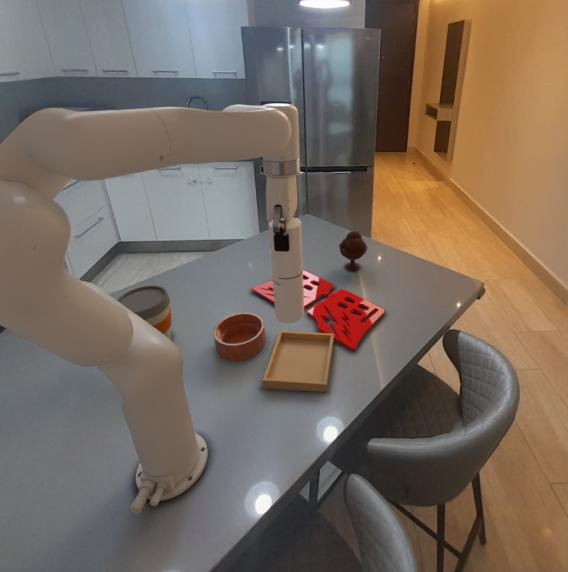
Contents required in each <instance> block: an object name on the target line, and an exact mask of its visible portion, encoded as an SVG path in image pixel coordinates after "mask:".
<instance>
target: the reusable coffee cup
mask: <svg viewBox="0 0 568 572" xmlns="http://www.w3.org/2000/svg"><path fill="white" fill-rule="evenodd" d="M170 299H171V298H170V297H169V293H168V291H167V289H166V288H164V287H163V286H159V285H154V284H152V285H142V286H138V287H135V288H133V289H130V290H128V291H127V292H125V293H123V294H121V295H120V297H119V298H117V299H116V300H117V301H118V302H119V303H121V304H122V305H124V306H125V307H126V308H128V309H129V310H131V311H132V312H133V313H135V314H136V315H138V316H139V317H141V318H142V319H143V320H145V321H146V322H147V323H149V324H150V325H151V326H153V327H154V328H156V329H157V330H158V331H160V332H161V333H162V334H164V335H165V336H166V337H168V338H169V339H170V340H171V339H172V336H171V326H172V311H171V310H172V309H171V306H170V303H171V300H170Z"/></svg>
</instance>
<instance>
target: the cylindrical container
mask: <svg viewBox="0 0 568 572" xmlns="http://www.w3.org/2000/svg"><path fill="white" fill-rule="evenodd" d="M281 221H285V218H281ZM272 224H273V221H272V222H268V235H269V248H270V262H271V274H272V280H273V289H274V303H275V304H274V314H275V319H276V320H277V321H278V322H280V323H283V324H294V323H297V322H299V321H300V320H302V319H303V317H305V309H304V292H303V280H304V277H303V270H304V265H303V264H304V263H303V262H304V261H303V240H302V239H303V238H302V237H303V236H302V221H301V220H300V219H299V218H297V217H295V218H294V217H292V219H291V221H290V222H288V228H287V234H289V248H290V249H289V251H288V252H284V251H275V250H274V236H273V227H272ZM280 225H281V227H283V229H284V224H280Z"/></svg>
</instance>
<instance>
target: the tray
mask: <svg viewBox="0 0 568 572" xmlns="http://www.w3.org/2000/svg"><path fill="white" fill-rule="evenodd" d="M334 342H335V341H334V334H328V333H321V332H311V331H310V332H309V331H296V330H295V331H292V330H279V332H278V335H277V338H276V340H275V343H274V346H273V349H272V351H271V355H270V357H269V360H268V364H267V366H266V369H265V371H264V374H263V377H262V388H263V389H273V390H274V389H275V390H288V391H289V390H291V391H304V392H305V391H306V392H317V393H327V392H328V384H329V377H330V372H331V371H330V370H331V363H332V357H333V350H334Z"/></svg>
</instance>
